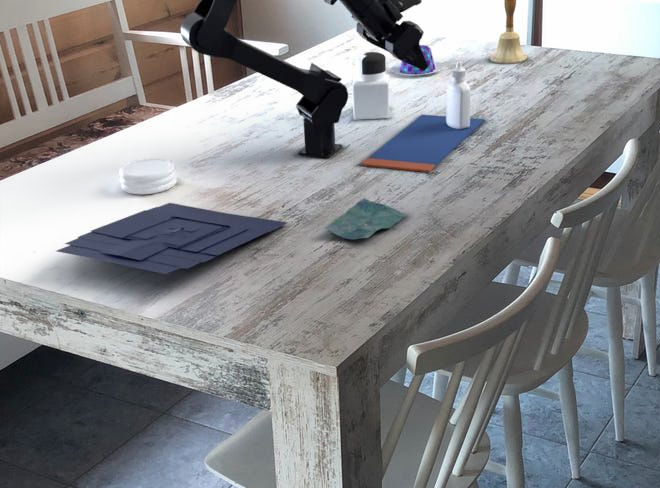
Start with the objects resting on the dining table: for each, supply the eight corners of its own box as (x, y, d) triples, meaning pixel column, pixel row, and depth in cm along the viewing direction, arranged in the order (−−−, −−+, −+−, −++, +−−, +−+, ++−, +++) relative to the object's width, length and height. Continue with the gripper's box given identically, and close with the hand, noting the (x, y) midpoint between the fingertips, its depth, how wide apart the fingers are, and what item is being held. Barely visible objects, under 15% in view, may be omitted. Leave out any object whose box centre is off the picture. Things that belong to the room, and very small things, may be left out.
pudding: (382, 69, 241) (382, 46, 239) (430, 61, 244) (430, 38, 241) (403, 81, 232) (403, 57, 229) (452, 73, 234) (453, 49, 231)
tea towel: (429, 172, 181) (429, 170, 181) (360, 165, 187) (360, 163, 187) (484, 121, 203) (484, 119, 203) (421, 116, 209) (421, 114, 209)
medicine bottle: (389, 108, 215) (388, 48, 209) (389, 118, 209) (388, 57, 203) (354, 109, 216) (352, 50, 210) (353, 120, 210) (351, 59, 204)
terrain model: (364, 208, 169) (364, 197, 168) (407, 217, 165) (407, 206, 164) (323, 237, 160) (323, 226, 159) (367, 247, 156) (367, 236, 155)
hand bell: (512, 65, 236) (515, -9, 227) (482, 60, 241) (485, -12, 233) (534, 57, 240) (538, -16, 232) (504, 52, 246) (507, -19, 237)
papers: (47, 266, 156) (44, 243, 154) (169, 218, 178) (168, 197, 177) (177, 295, 144) (176, 270, 142) (290, 239, 167) (290, 217, 165)
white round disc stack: (126, 199, 181) (123, 179, 180) (117, 181, 190) (114, 162, 188) (182, 189, 183) (179, 170, 181) (171, 172, 192) (169, 153, 190)
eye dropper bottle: (446, 130, 199) (447, 66, 192) (445, 121, 203) (446, 58, 197) (470, 129, 198) (471, 65, 192) (468, 120, 203) (470, 57, 196)
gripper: (417, -25, 175) (469, 39, 183) (375, -42, 190) (426, 18, 198) (370, 26, 177) (424, 88, 185) (333, 6, 192) (385, 63, 201)
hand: (415, 62), depth 192 cm, fingers open, 9 cm apart
